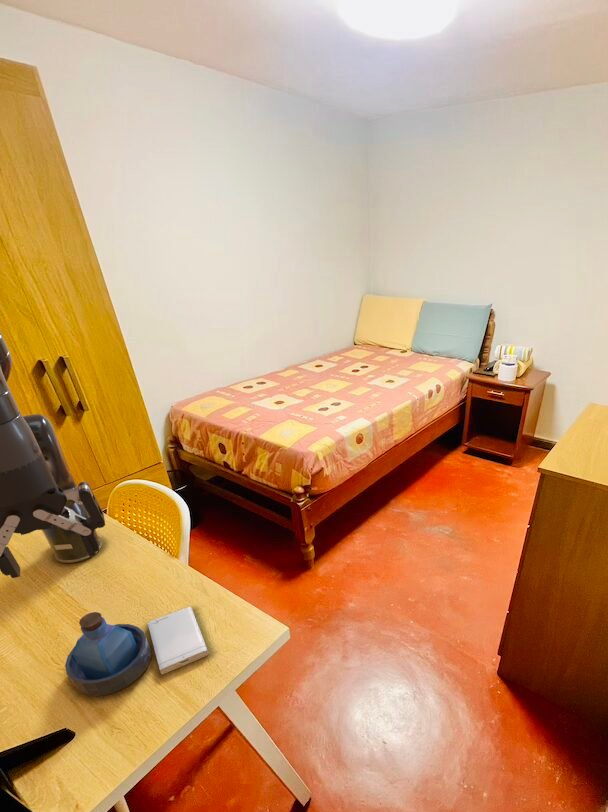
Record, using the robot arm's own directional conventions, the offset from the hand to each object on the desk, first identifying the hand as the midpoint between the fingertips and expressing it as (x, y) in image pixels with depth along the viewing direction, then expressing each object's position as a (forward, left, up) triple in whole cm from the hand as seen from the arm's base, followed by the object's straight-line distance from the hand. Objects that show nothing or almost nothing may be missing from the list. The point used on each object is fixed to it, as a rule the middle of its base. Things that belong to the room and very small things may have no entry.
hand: (55, 563), depth 57 cm
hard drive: (-3, +11, -28) cm, 30 cm away
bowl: (-5, 0, -28) cm, 28 cm away
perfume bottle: (-5, 0, -28) cm, 28 cm away
